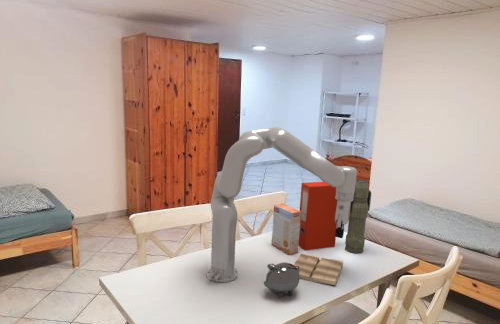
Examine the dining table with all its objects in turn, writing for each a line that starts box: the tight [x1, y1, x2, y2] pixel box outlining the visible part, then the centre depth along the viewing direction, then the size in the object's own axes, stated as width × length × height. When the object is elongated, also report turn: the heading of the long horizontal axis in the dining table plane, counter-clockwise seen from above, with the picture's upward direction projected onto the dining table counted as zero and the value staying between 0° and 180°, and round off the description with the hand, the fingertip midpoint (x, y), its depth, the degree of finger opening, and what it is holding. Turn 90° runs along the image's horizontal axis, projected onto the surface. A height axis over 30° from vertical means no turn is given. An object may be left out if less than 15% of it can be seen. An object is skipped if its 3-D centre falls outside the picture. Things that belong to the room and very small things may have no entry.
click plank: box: [311, 257, 344, 286], centre depth 154 cm, size 20×10×2 cm, turn 157°
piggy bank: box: [263, 262, 301, 299], centre depth 137 cm, size 11×15×12 cm
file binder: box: [298, 181, 337, 252], centre depth 179 cm, size 8×17×32 cm, turn 111°
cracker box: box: [271, 203, 301, 256], centre depth 175 cm, size 14×6×21 cm, turn 33°
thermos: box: [344, 179, 372, 255], centre depth 176 cm, size 9×12×35 cm
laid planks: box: [293, 253, 321, 282], centre depth 158 cm, size 20×9×2 cm, turn 157°
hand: (339, 236), depth 156 cm, fingers closed
